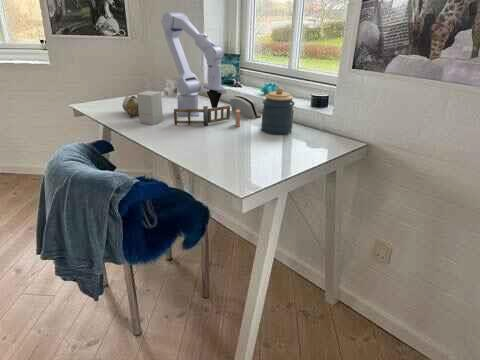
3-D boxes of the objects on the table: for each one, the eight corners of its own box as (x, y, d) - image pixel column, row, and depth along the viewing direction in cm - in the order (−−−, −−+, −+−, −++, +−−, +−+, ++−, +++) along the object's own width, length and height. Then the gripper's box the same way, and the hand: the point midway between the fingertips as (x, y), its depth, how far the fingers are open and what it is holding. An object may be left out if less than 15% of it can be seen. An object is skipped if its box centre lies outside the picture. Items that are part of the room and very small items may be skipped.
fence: (174, 125, 150) (173, 109, 147) (174, 124, 152) (174, 108, 149) (204, 125, 151) (203, 109, 148) (204, 124, 152) (203, 109, 150)
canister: (255, 127, 152) (257, 85, 144) (282, 124, 157) (285, 83, 149) (269, 136, 141) (273, 91, 134) (297, 133, 146) (302, 90, 138)
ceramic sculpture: (136, 90, 168) (153, 98, 159) (137, 108, 173) (154, 117, 163) (115, 93, 162) (131, 102, 153) (117, 112, 166) (132, 121, 157)
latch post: (236, 126, 151) (236, 111, 149) (235, 124, 155) (235, 109, 152) (239, 126, 151) (240, 111, 149) (239, 124, 155) (239, 109, 152)
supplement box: (163, 121, 155) (161, 92, 150) (153, 125, 149) (150, 95, 144) (150, 118, 158) (147, 90, 153) (139, 123, 152) (136, 93, 147)
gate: (209, 123, 152) (209, 109, 149) (207, 122, 153) (207, 108, 150) (229, 119, 158) (230, 106, 156) (228, 118, 159) (228, 105, 157)
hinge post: (203, 125, 151) (203, 107, 148) (203, 124, 153) (203, 106, 149) (208, 126, 151) (208, 107, 148) (208, 124, 153) (208, 106, 149)
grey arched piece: (261, 117, 166) (257, 98, 160) (254, 122, 164) (249, 102, 158) (239, 109, 178) (234, 91, 172) (232, 113, 176) (227, 95, 170)
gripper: (232, 77, 149) (231, 109, 155) (212, 72, 159) (212, 103, 165) (218, 79, 145) (218, 112, 151) (199, 74, 155) (199, 105, 161)
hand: (214, 107), depth 158 cm, fingers closed
